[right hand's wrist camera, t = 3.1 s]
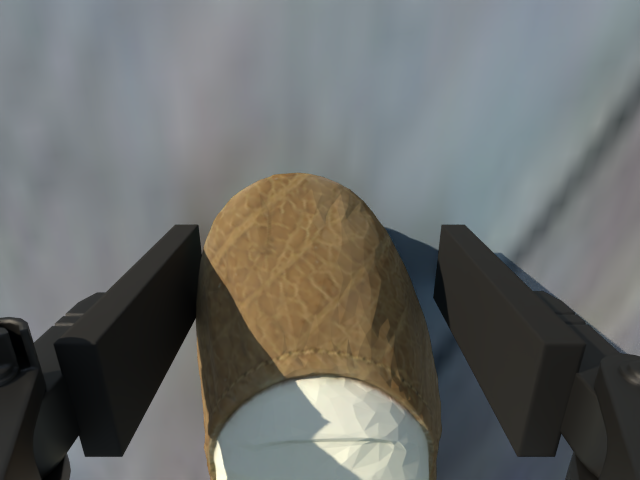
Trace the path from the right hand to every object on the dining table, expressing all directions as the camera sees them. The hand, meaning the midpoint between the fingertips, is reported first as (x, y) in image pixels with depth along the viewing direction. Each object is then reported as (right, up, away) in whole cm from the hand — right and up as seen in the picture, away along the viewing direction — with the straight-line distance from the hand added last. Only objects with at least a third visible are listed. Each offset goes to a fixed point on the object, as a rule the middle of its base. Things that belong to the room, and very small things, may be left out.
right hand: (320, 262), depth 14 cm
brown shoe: (0, -8, +4) cm, 9 cm away
